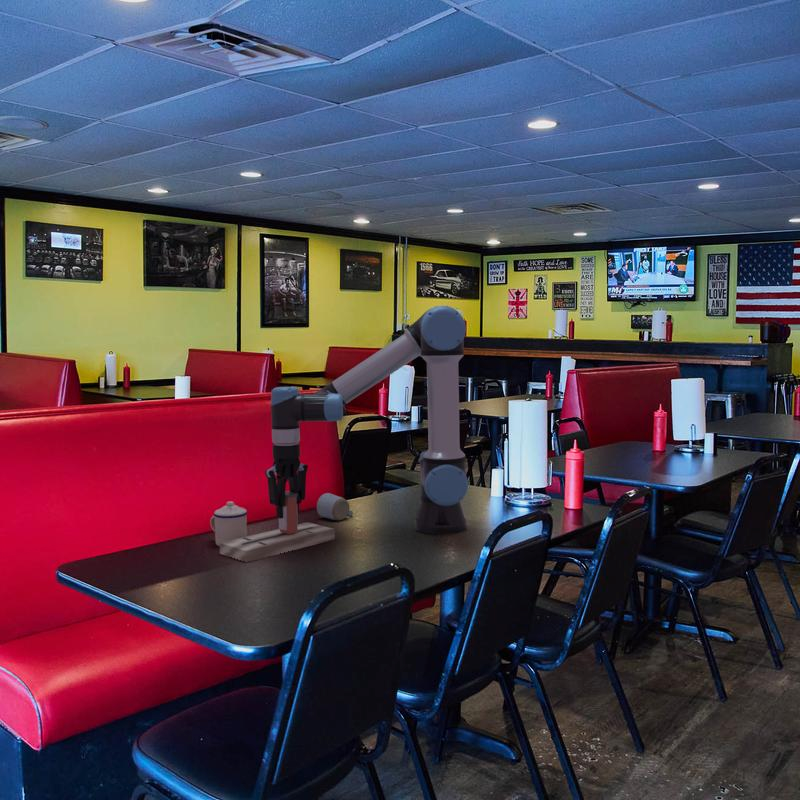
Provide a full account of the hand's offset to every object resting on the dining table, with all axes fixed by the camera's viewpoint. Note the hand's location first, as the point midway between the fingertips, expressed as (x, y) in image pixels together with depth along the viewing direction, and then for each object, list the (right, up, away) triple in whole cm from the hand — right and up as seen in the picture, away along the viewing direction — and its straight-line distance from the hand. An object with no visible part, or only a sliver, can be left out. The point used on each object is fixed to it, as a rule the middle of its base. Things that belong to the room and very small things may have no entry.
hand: (288, 527), depth 226 cm
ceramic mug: (+11, -2, +30) cm, 32 cm away
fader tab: (0, -1, 0) cm, 1 cm away
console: (-2, -5, -2) cm, 6 cm away
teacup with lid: (-17, -5, +3) cm, 18 cm away
